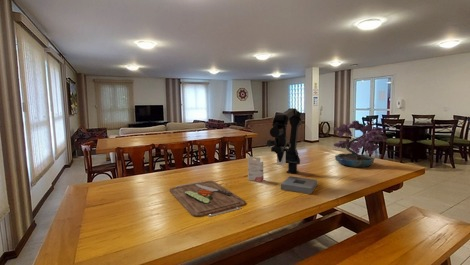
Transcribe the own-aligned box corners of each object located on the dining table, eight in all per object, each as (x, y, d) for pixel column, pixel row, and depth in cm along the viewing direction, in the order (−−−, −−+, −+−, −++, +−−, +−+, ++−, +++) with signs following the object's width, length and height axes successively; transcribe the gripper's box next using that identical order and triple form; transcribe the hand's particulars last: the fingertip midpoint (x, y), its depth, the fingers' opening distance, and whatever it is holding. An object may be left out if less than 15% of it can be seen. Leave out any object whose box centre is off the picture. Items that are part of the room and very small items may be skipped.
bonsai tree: (325, 162, 194) (327, 120, 190) (349, 158, 206) (351, 118, 202) (367, 173, 163) (370, 123, 159) (393, 167, 175) (396, 121, 171)
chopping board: (166, 189, 141) (166, 184, 141) (210, 181, 155) (210, 176, 154) (196, 221, 103) (196, 214, 102) (251, 207, 116) (251, 200, 116)
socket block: (289, 181, 151) (289, 176, 150) (317, 184, 143) (317, 179, 143) (280, 189, 137) (280, 183, 137) (310, 194, 129) (311, 188, 129)
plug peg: (279, 163, 154) (279, 150, 153) (285, 164, 152) (285, 151, 151) (276, 164, 150) (276, 151, 149) (283, 165, 148) (283, 152, 147)
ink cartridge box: (263, 179, 154) (263, 156, 152) (260, 182, 150) (260, 157, 148) (251, 177, 158) (250, 154, 156) (247, 180, 154) (247, 156, 152)
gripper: (274, 132, 161) (274, 156, 163) (262, 136, 145) (262, 163, 147) (291, 133, 155) (290, 158, 157) (281, 137, 139) (281, 165, 141)
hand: (281, 161), depth 151 cm, fingers closed on plug peg, 4 cm apart
